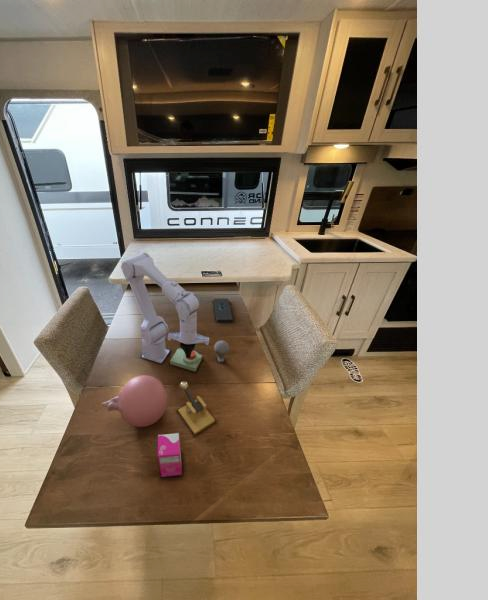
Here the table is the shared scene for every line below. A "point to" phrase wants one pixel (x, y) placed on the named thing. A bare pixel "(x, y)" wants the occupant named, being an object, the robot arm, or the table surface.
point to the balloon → (140, 401)
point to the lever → (190, 396)
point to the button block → (185, 360)
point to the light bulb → (221, 350)
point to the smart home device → (223, 310)
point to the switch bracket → (196, 416)
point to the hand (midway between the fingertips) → (188, 356)
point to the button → (192, 355)
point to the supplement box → (169, 455)
